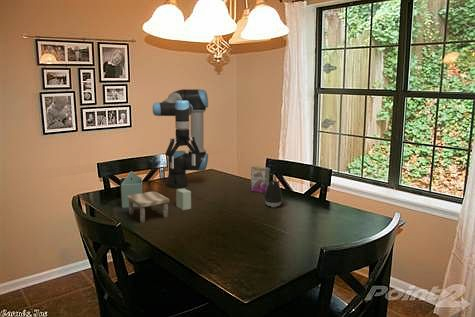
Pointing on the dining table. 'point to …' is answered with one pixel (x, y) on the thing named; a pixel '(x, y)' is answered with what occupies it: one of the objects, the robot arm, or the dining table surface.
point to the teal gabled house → (130, 188)
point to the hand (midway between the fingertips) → (183, 166)
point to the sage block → (183, 199)
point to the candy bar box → (259, 178)
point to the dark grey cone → (273, 194)
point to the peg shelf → (147, 203)
